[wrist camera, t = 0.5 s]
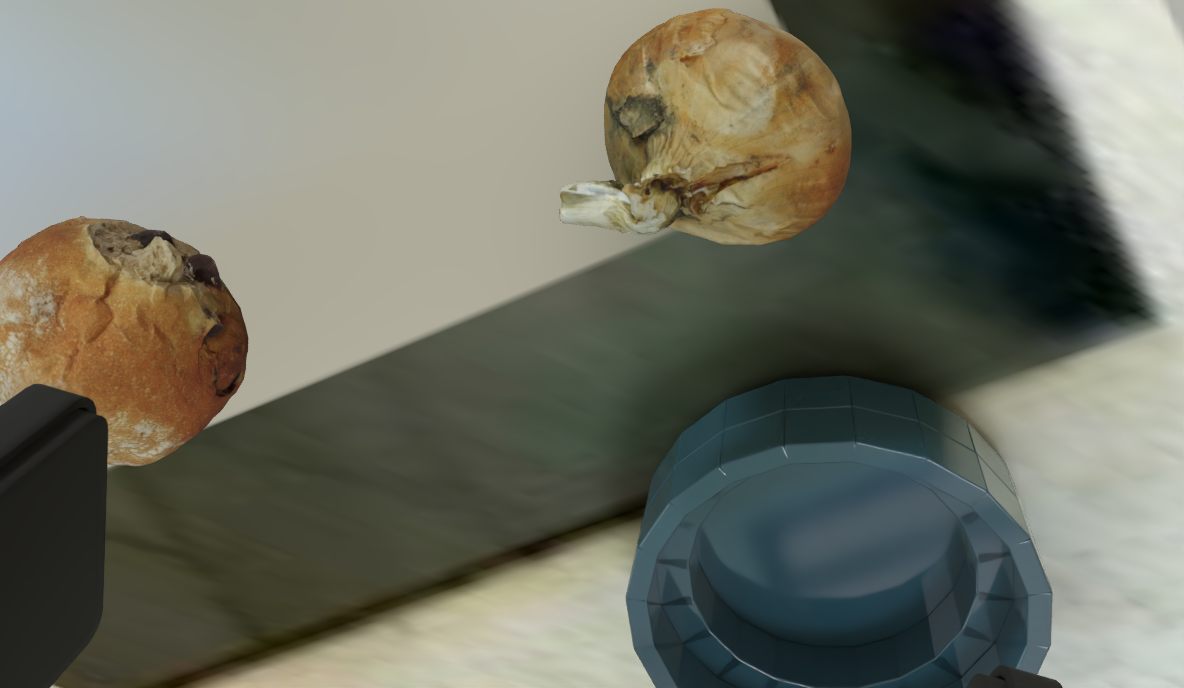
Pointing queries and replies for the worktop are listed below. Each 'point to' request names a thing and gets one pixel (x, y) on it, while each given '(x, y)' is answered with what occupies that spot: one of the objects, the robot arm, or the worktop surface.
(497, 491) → the worktop surface
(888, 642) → the bowl
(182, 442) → the bread roll
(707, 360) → the worktop surface
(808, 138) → the onion
